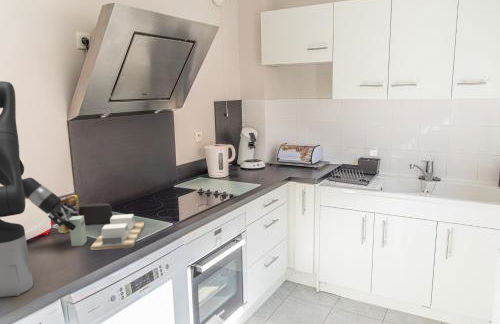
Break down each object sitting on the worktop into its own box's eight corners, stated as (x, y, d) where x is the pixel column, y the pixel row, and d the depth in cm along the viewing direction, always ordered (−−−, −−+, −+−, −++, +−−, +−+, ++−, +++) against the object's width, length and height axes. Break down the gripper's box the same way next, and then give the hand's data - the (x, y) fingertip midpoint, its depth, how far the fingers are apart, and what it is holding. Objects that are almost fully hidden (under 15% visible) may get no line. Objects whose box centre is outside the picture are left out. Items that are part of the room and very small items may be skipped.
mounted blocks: (124, 242, 147) (122, 230, 146) (100, 244, 147) (98, 232, 146) (137, 221, 171) (135, 211, 170) (116, 223, 170) (115, 212, 169)
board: (132, 247, 147) (132, 244, 147) (90, 250, 146) (90, 247, 145) (145, 224, 172) (144, 221, 172) (109, 226, 171) (109, 224, 171)
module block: (83, 245, 151) (80, 219, 149) (71, 246, 151) (68, 219, 149) (87, 240, 155) (84, 215, 153) (75, 241, 155) (72, 216, 153)
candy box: (64, 234, 164) (59, 200, 161) (58, 232, 166) (53, 199, 163) (81, 227, 172) (77, 195, 169) (75, 225, 174) (71, 194, 171)
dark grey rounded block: (115, 220, 180) (112, 201, 178) (112, 223, 175) (110, 204, 173) (79, 222, 178) (77, 203, 176) (76, 226, 174) (73, 206, 172)
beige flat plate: (122, 244, 147) (122, 243, 147) (101, 246, 146) (101, 244, 146) (135, 222, 171) (135, 221, 171) (117, 223, 171) (117, 222, 171)
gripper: (42, 197, 141) (77, 224, 144) (58, 187, 155) (90, 212, 158) (30, 212, 142) (65, 238, 145) (46, 201, 156) (78, 225, 159)
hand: (78, 224), depth 152 cm, fingers open, 8 cm apart
